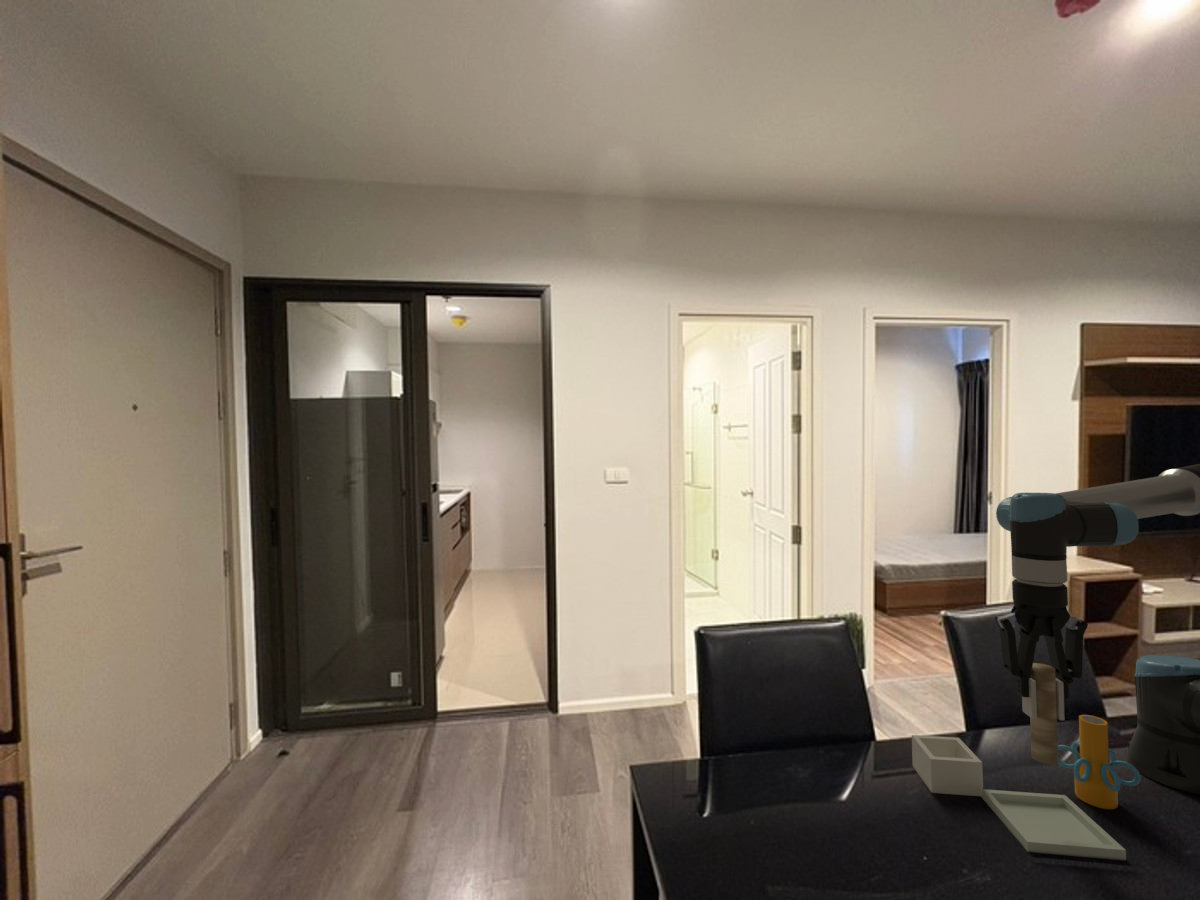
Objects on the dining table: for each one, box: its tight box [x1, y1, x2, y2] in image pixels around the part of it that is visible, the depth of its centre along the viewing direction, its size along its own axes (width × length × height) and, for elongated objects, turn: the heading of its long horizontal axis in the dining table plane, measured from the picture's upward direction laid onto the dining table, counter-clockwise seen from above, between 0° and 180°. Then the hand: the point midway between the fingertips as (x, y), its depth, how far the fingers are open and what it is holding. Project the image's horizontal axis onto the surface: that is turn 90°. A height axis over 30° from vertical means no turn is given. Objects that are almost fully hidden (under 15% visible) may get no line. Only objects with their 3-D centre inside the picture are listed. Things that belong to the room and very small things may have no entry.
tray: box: [981, 788, 1127, 862], centre depth 93 cm, size 14×14×2 cm
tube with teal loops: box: [1058, 714, 1142, 810], centre depth 101 cm, size 12×10×15 cm
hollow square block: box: [911, 734, 984, 797], centre depth 107 cm, size 9×9×7 cm
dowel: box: [1029, 662, 1059, 766], centre depth 94 cm, size 4×4×16 cm
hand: (1043, 715), depth 94 cm, fingers closed on dowel, 3 cm apart
